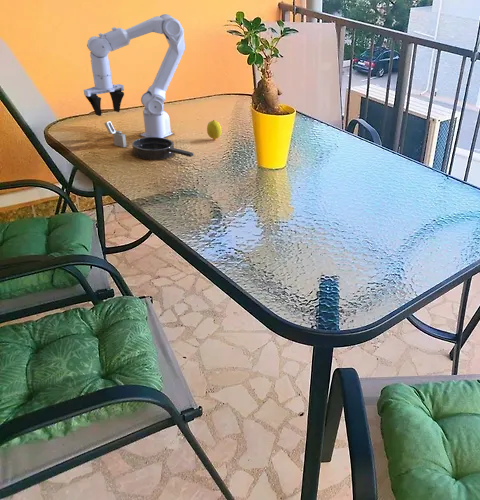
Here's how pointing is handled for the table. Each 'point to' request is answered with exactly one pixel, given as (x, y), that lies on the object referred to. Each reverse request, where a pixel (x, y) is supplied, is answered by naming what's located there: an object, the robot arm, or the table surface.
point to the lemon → (214, 129)
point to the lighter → (116, 135)
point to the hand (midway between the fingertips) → (107, 113)
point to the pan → (152, 148)
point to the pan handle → (181, 152)
